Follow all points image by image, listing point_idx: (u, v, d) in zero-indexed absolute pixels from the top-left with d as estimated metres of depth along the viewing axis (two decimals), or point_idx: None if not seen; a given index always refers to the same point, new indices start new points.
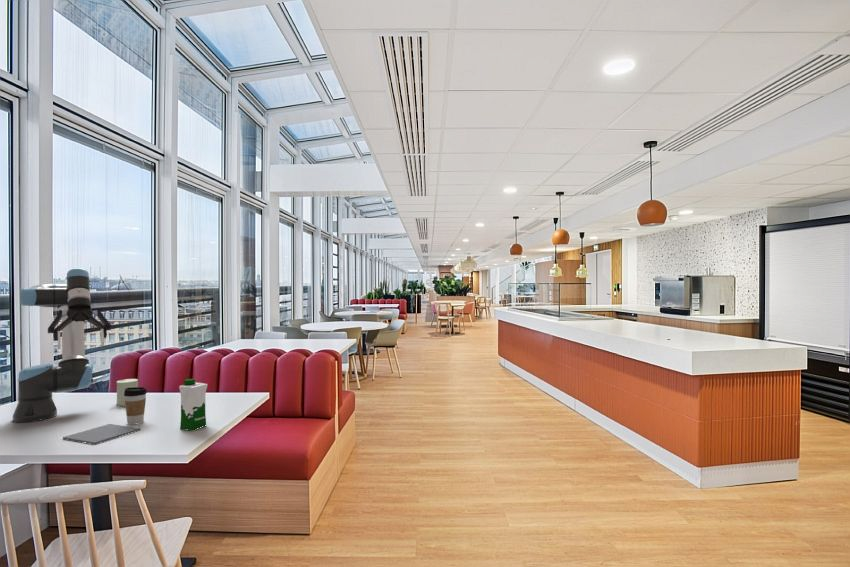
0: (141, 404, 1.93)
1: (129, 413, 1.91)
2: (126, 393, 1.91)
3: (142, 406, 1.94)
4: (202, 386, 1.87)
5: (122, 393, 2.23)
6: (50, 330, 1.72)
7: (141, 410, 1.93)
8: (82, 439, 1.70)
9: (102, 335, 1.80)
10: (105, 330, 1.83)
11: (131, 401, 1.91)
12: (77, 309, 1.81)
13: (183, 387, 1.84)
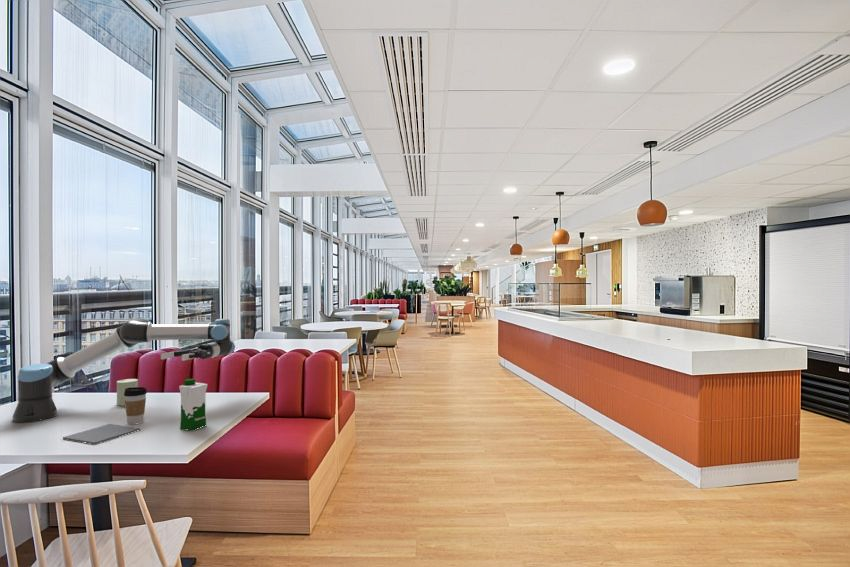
0: (141, 404, 1.93)
1: (129, 413, 1.91)
2: (126, 393, 1.91)
3: (142, 406, 1.94)
4: (202, 386, 1.87)
5: (122, 393, 2.23)
6: (199, 357, 2.15)
7: (141, 410, 1.93)
8: (82, 439, 1.70)
9: (167, 358, 2.17)
10: None
11: (131, 401, 1.91)
12: None
13: (183, 387, 1.84)
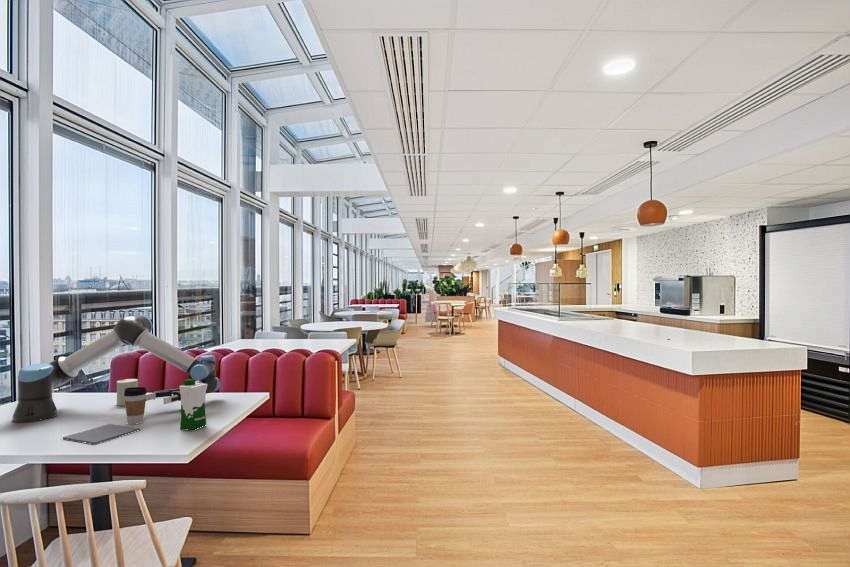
0: (141, 404, 1.93)
1: (129, 413, 1.91)
2: (126, 393, 1.91)
3: (142, 406, 1.94)
4: (202, 386, 1.87)
5: (122, 393, 2.23)
6: None
7: (141, 410, 1.93)
8: (82, 439, 1.70)
9: None
10: None
11: (131, 401, 1.91)
12: None
13: (183, 387, 1.84)
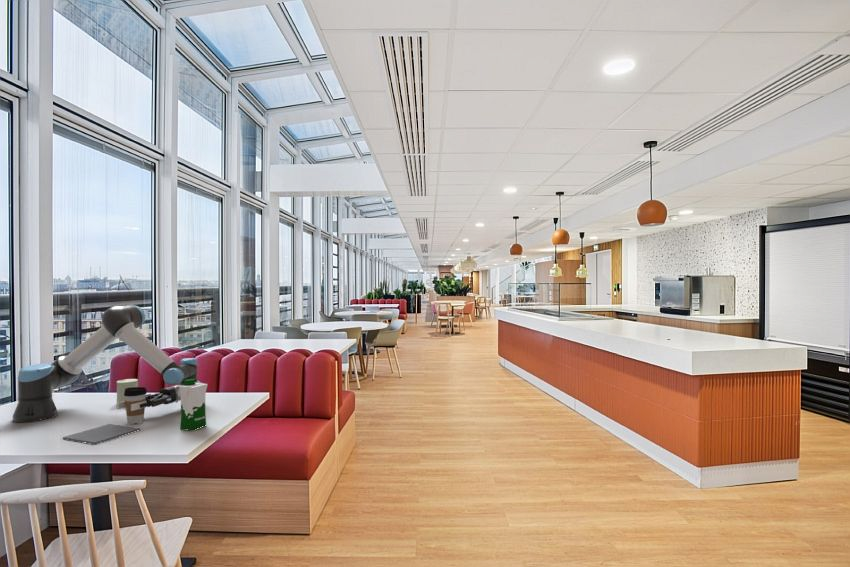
0: None
1: (129, 413, 1.91)
2: (126, 393, 1.91)
3: None
4: (202, 386, 1.87)
5: (122, 393, 2.23)
6: (151, 405, 1.94)
7: (141, 410, 1.93)
8: (82, 439, 1.70)
9: None
10: None
11: (131, 401, 1.91)
12: None
13: (183, 387, 1.84)
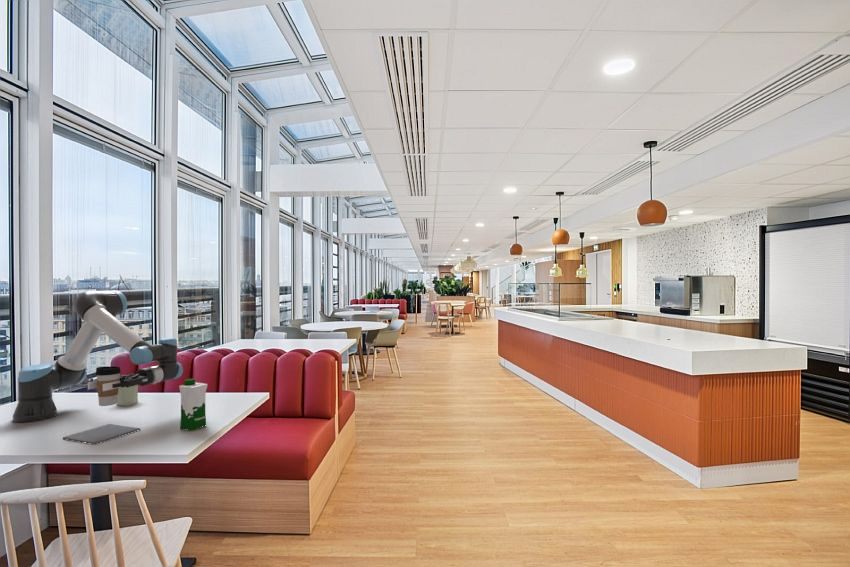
0: None
1: (101, 394, 1.77)
2: (98, 372, 1.77)
3: None
4: (202, 386, 1.87)
5: (122, 393, 2.23)
6: (125, 386, 1.80)
7: (114, 391, 1.79)
8: (82, 439, 1.70)
9: None
10: None
11: (103, 381, 1.76)
12: None
13: (183, 387, 1.84)
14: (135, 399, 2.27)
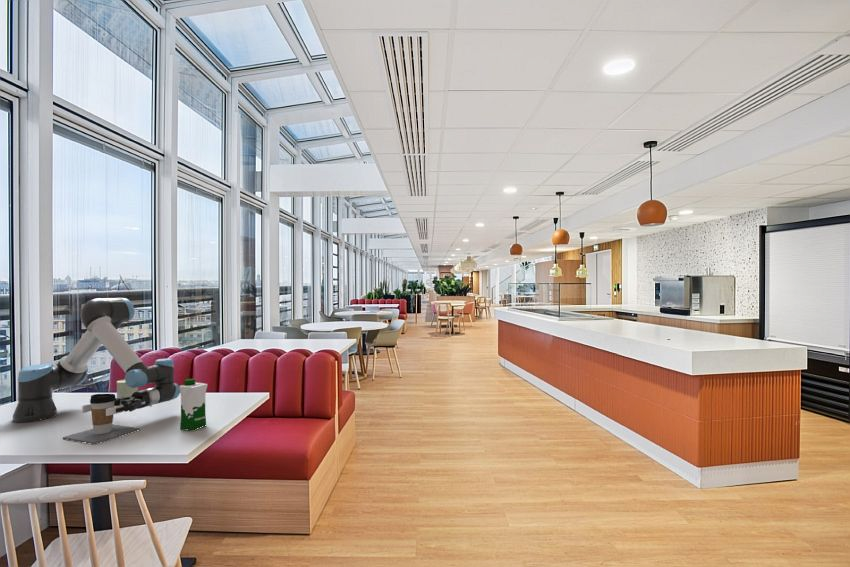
0: None
1: (95, 422, 1.75)
2: (92, 400, 1.75)
3: None
4: (202, 386, 1.87)
5: (122, 393, 2.23)
6: (129, 410, 1.79)
7: (109, 419, 1.77)
8: (82, 439, 1.70)
9: None
10: None
11: (97, 409, 1.75)
12: None
13: (183, 387, 1.84)
14: None
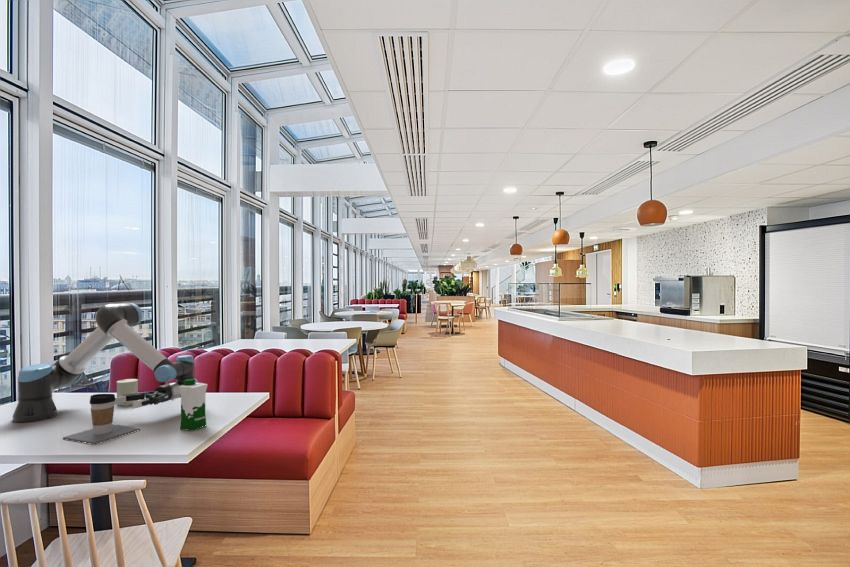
0: (108, 412, 1.77)
1: (95, 422, 1.75)
2: (91, 401, 1.75)
3: (110, 415, 1.78)
4: (202, 386, 1.87)
5: (122, 393, 2.23)
6: (154, 403, 1.89)
7: (108, 419, 1.77)
8: (82, 439, 1.70)
9: (118, 403, 1.91)
10: None
11: (97, 409, 1.75)
12: None
13: (183, 387, 1.84)
14: None
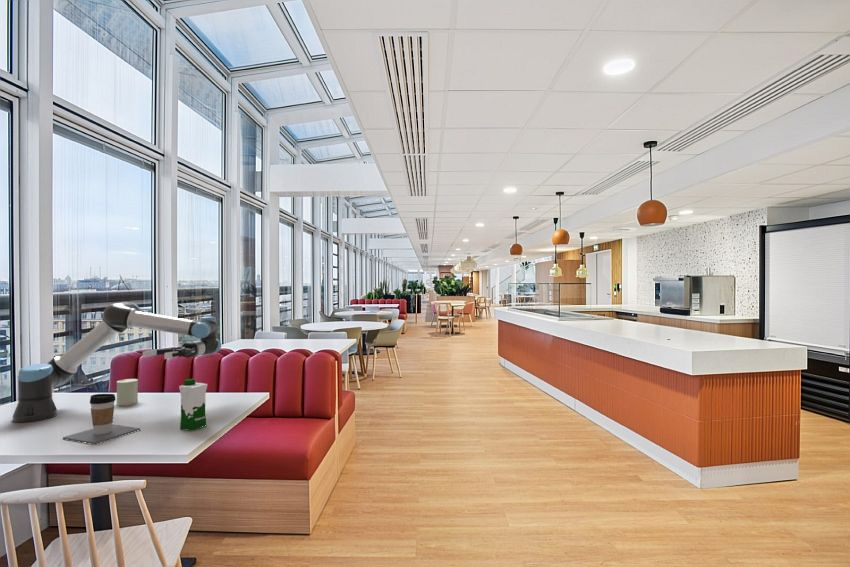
0: (108, 412, 1.77)
1: (95, 422, 1.75)
2: (92, 400, 1.75)
3: (110, 414, 1.78)
4: (202, 386, 1.87)
5: (122, 393, 2.23)
6: (183, 355, 2.06)
7: (108, 419, 1.77)
8: (82, 439, 1.70)
9: None
10: None
11: (97, 409, 1.75)
12: None
13: (183, 387, 1.84)
14: (135, 399, 2.27)
